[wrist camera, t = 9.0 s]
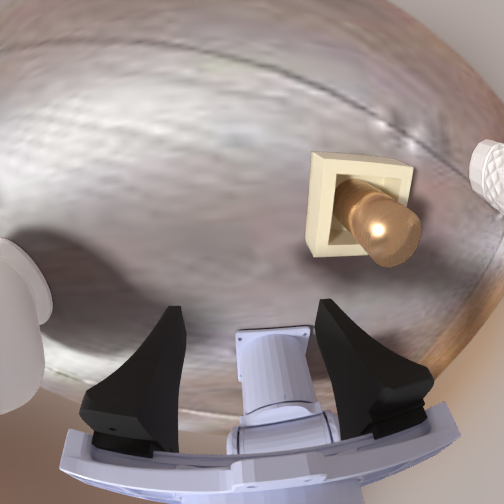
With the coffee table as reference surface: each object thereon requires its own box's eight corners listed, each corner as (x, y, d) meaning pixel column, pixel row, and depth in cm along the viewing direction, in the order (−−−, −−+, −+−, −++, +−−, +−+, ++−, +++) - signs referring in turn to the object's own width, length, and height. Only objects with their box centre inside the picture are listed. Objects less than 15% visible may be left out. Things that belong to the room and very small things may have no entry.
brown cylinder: (372, 221, 22) (415, 262, 16) (330, 226, 22) (366, 272, 16) (374, 177, 20) (425, 206, 14) (330, 179, 20) (372, 211, 14)
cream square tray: (380, 237, 24) (395, 253, 21) (304, 239, 23) (313, 257, 20) (393, 158, 20) (413, 167, 17) (311, 151, 19) (323, 158, 17)
